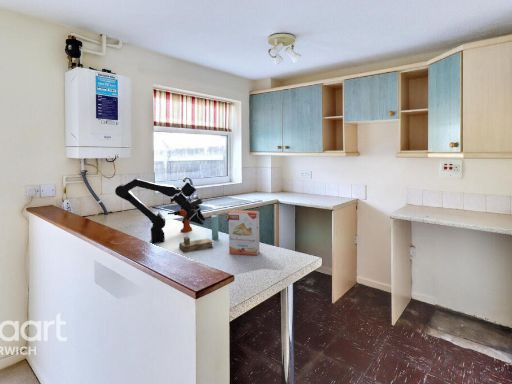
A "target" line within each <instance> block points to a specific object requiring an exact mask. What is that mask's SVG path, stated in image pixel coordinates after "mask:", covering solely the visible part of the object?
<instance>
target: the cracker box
mask: <svg viewBox="0 0 512 384" xmlns="http://www.w3.org/2000/svg"><path fill="white" fill-rule="evenodd" d="M227 213H228V247H229V248H228V250H229V251H228V253H229V254H230V255H242V256H244V255H246V256H258V255H259V253H260V211H259V210H245V209H244V210H240V209H231V210H230V211H228V212H227Z"/></svg>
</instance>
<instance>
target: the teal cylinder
mask: <svg viewBox="0 0 512 384" xmlns="http://www.w3.org/2000/svg"><path fill="white" fill-rule="evenodd" d="M210 217H211V220H210V221H211V239H212V240H213V239H214V240H215V239H216V240H219V220H218V218H219V215H211V216H210ZM214 240H213V241H214Z"/></svg>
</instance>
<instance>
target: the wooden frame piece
mask: <svg viewBox="0 0 512 384" xmlns="http://www.w3.org/2000/svg"><path fill="white" fill-rule="evenodd" d="M213 246H214V245H213V243H208V244H201V245H195V246H188V247H183V246H182V245H181V244H180V242H178V248H179V249H180V251H182V253H189V252H196V251H203V250H208V249H214V248H213Z"/></svg>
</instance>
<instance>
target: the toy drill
mask: <svg viewBox="0 0 512 384" xmlns="http://www.w3.org/2000/svg"><path fill="white" fill-rule="evenodd" d="M167 215H174V216H178V217H182V221H181V223H182V224H183V226H182V228H181V229H180V233H188V232H191V231H193V228H192V226H191V223H190V221H189V220H190V219H189V220H187V219H186V218H185V216H186V215H187V214H186V212H185V211H184V210H183V209H181V208H180V209H179V210H174V211H173V212H168V213H167Z"/></svg>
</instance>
